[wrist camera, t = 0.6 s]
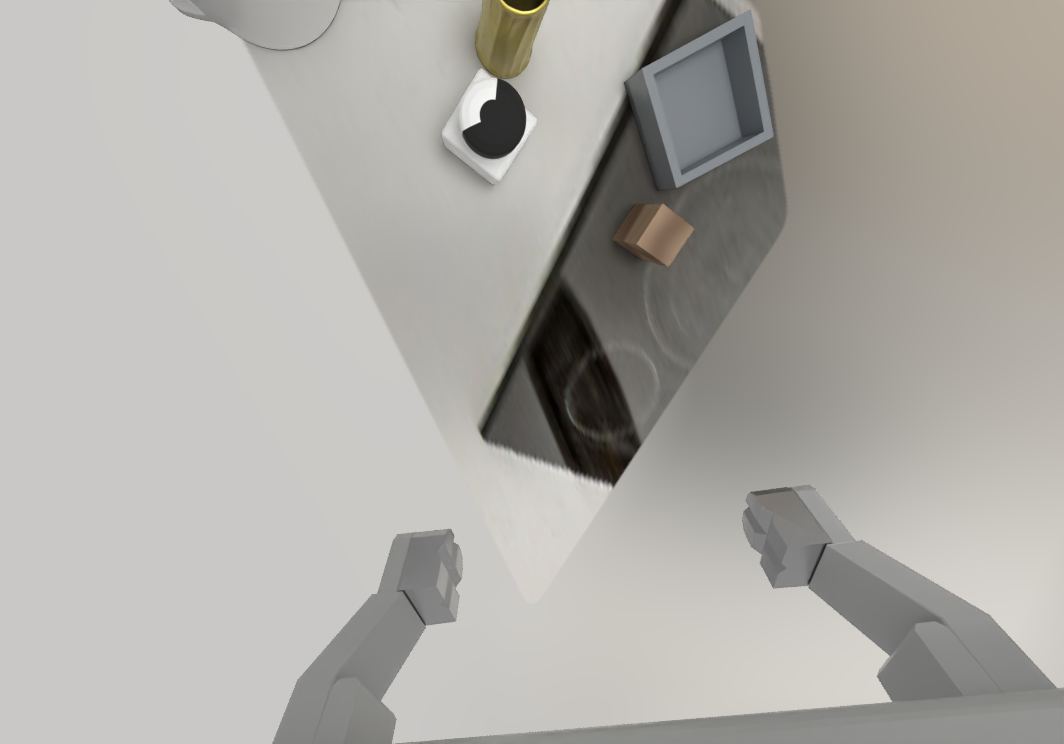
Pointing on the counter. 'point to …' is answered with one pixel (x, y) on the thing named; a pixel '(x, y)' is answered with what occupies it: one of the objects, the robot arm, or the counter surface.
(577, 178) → the counter surface
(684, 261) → the counter surface
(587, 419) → the counter surface
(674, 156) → the bin
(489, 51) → the vase
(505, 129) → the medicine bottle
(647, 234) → the block
